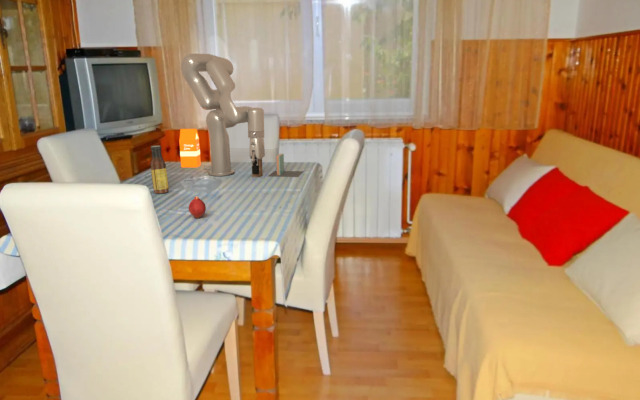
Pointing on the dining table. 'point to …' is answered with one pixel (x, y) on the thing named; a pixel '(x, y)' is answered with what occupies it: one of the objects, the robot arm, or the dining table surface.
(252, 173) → the block
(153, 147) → the sauce bottle
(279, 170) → the tile
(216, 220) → the dining table surface
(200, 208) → the onion
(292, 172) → the mat
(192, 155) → the orange juice
